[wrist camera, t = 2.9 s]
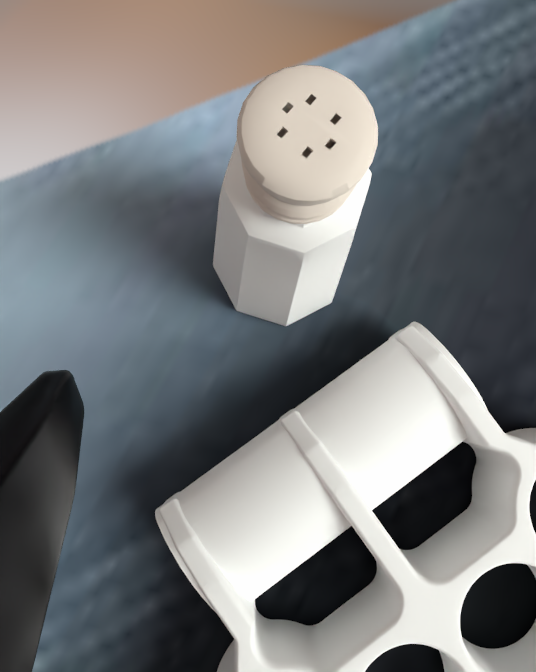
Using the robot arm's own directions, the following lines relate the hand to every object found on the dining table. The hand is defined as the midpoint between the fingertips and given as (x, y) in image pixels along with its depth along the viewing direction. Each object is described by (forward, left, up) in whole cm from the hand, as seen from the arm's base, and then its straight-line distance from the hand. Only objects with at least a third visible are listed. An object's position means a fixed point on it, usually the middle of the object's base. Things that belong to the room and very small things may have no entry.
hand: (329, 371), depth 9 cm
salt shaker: (+4, -3, -12) cm, 13 cm away
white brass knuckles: (-8, +2, -12) cm, 14 cm away
